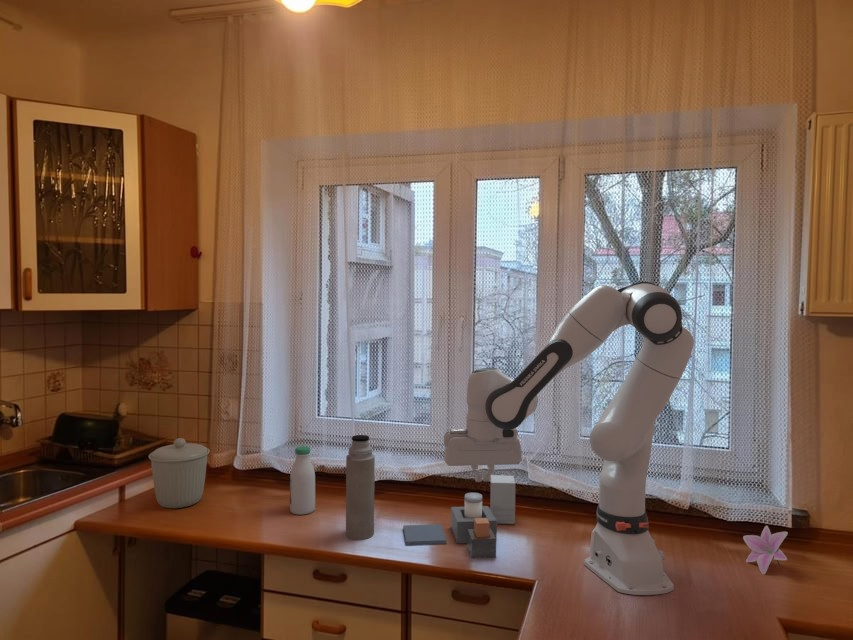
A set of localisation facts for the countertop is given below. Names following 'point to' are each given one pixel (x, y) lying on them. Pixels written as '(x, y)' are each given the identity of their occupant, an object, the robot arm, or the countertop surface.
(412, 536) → the mat
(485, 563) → the countertop surface
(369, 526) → the thermos bottle
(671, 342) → the robot arm
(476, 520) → the plunger
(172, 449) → the canister
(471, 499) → the cylinder
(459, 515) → the housing
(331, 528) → the countertop surface
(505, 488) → the supplement box
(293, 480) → the milk bottle
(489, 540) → the frame
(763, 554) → the lily
